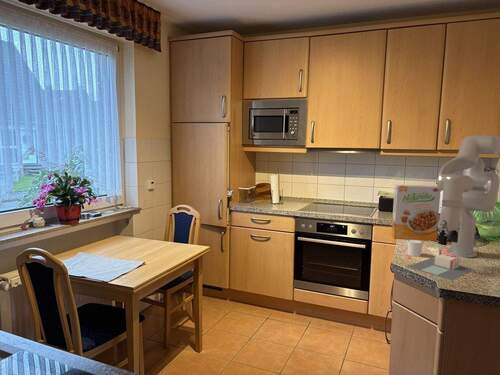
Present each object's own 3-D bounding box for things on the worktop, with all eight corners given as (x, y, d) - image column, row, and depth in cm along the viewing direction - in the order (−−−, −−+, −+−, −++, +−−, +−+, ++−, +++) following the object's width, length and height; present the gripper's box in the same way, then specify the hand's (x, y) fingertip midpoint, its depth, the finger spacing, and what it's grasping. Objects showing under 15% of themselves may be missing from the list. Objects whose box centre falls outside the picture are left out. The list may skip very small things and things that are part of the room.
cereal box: (394, 239, 209) (397, 186, 206) (391, 236, 215) (394, 184, 212) (436, 241, 206) (440, 187, 203) (432, 238, 212) (436, 185, 209)
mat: (431, 258, 174) (431, 257, 174) (475, 270, 159) (475, 269, 159) (406, 267, 162) (406, 266, 162) (451, 281, 147) (451, 279, 146)
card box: (434, 264, 165) (435, 256, 165) (440, 262, 168) (441, 254, 168) (453, 269, 159) (453, 261, 158) (459, 267, 162) (459, 259, 162)
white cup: (403, 253, 182) (404, 239, 181) (417, 253, 183) (418, 239, 182) (410, 257, 176) (411, 243, 175) (424, 257, 176) (425, 243, 175)
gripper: (452, 202, 168) (448, 239, 170) (432, 204, 158) (429, 243, 159) (470, 204, 162) (466, 242, 164) (451, 206, 152) (447, 247, 154)
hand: (448, 243), depth 162 cm, fingers open, 9 cm apart
